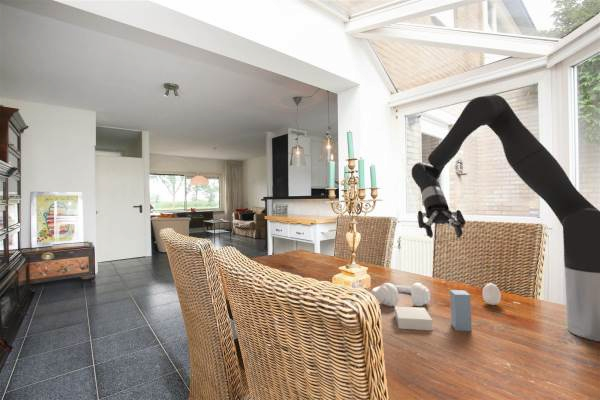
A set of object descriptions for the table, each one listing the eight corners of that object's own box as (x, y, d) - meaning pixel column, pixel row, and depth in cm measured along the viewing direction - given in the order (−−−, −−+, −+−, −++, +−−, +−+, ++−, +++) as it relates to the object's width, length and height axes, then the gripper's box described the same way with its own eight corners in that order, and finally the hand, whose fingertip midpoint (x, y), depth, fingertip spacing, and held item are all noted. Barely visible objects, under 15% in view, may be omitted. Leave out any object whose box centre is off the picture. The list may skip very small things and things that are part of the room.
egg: (501, 308, 91) (500, 286, 91) (482, 305, 95) (481, 284, 95) (501, 303, 96) (500, 282, 96) (483, 301, 99) (482, 280, 99)
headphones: (437, 309, 92) (418, 295, 112) (435, 284, 93) (416, 275, 113) (377, 309, 94) (369, 295, 114) (376, 285, 95) (368, 275, 115)
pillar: (451, 323, 82) (450, 290, 82) (466, 324, 81) (464, 290, 81) (455, 330, 78) (454, 294, 78) (471, 330, 77) (470, 295, 77)
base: (425, 317, 87) (424, 307, 87) (432, 330, 78) (432, 319, 78) (395, 315, 89) (394, 306, 89) (398, 328, 80) (398, 318, 80)
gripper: (415, 194, 101) (424, 229, 89) (457, 193, 98) (472, 228, 87) (412, 208, 106) (420, 243, 95) (453, 207, 103) (466, 243, 92)
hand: (445, 236), depth 91 cm, fingers open, 8 cm apart
